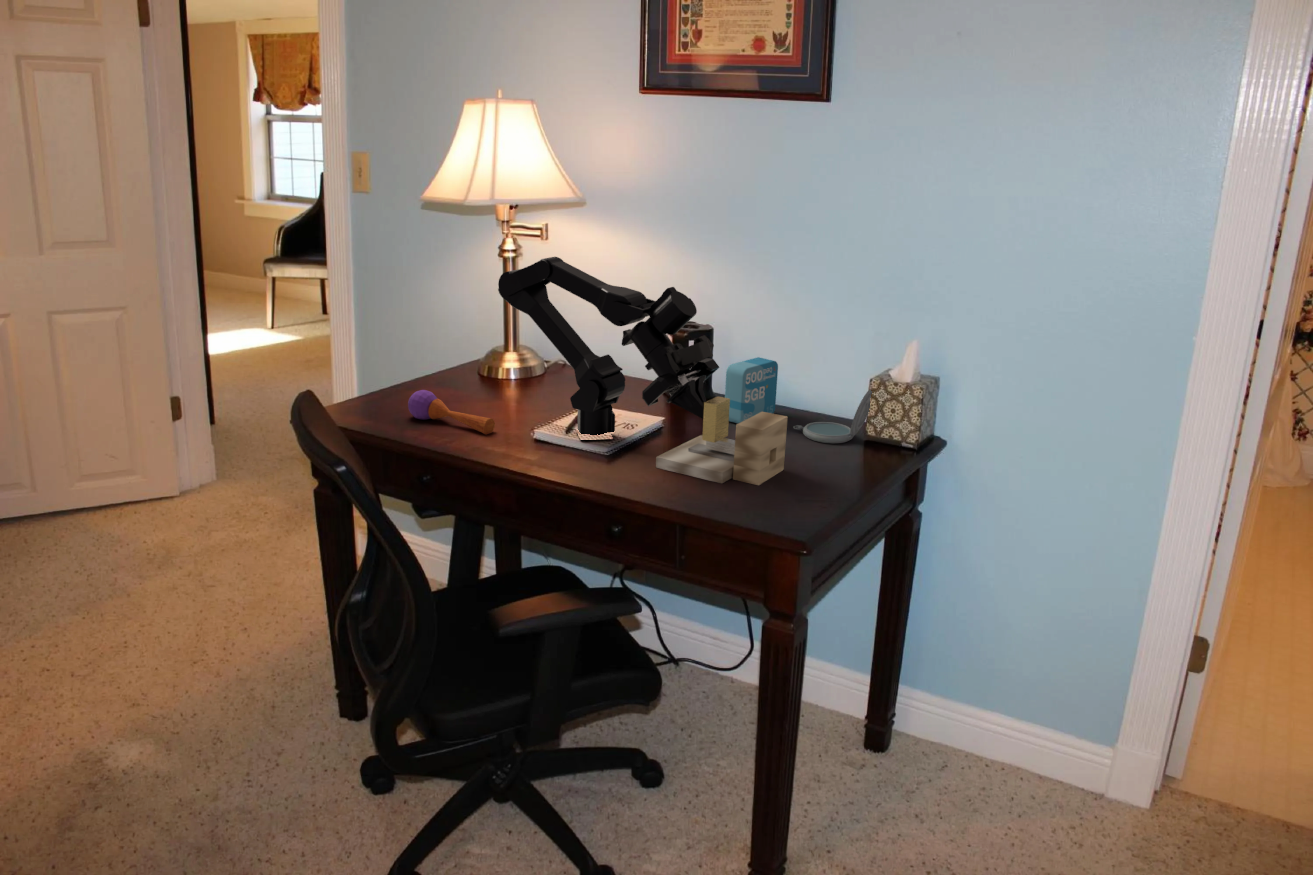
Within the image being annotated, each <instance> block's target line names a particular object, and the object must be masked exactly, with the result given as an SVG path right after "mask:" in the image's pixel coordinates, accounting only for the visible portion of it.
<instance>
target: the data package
mask: <svg viewBox="0 0 1313 875" xmlns="http://www.w3.org/2000/svg"><path fill="white" fill-rule="evenodd" d="M778 372H779V364H778V362H777V361H776V360H773V359H769V358H768V359H767V358H763V357H760V356H757V357H754V358H749V359H746V360H742V361H737V362H735V363H730V364H729V365H728V367H727V369H726V372H725V385H724V386H725V388H724V389H725V391H724V398H729V399H730V408H729V423H735V424H739V423H740V422H742V421H744V420H746V419H748V418H750V417H752V416H754V415H756V414H758V413H760V412H767V413H772V414H775V411H776V403H777V402H776V401H777V387H778V386H777V385H778V375H779V374H778Z"/></svg>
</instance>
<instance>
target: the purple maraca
mask: <svg viewBox="0 0 1313 875" xmlns="http://www.w3.org/2000/svg"><path fill="white" fill-rule="evenodd" d="M407 401H408V402H407V408H408V411H409V413H410V414H411V415H412V416H413V417H414V418H415V419H418V420H423V421H425V420H429V419H432V420H437V419H442V418H446V417H449V418H452V419H453V420H455V421H457V422H460V423H462V424H464V425H465V426H467V427H469V428H472V429H473V430H475V431H477V432H479V433H482V434H484V435H489V434H492V433H493V432H494V430H495V427H496V423H495V422H496V421H495V420H494V418H492V417H491V418H490V417H485V416H481V415H475V414H470V413H463V412H459V411H453V410H450V409H449V408H448V406H447V405H446V404H445V403H444V402H443V400H441V399H439V398H438V397H437V395H435V394H434V393H433V392H432V391H429V390H426V389H420V390H417V391H415V392H414V393H412V394H411V396H409V398H408V400H407Z"/></svg>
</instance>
